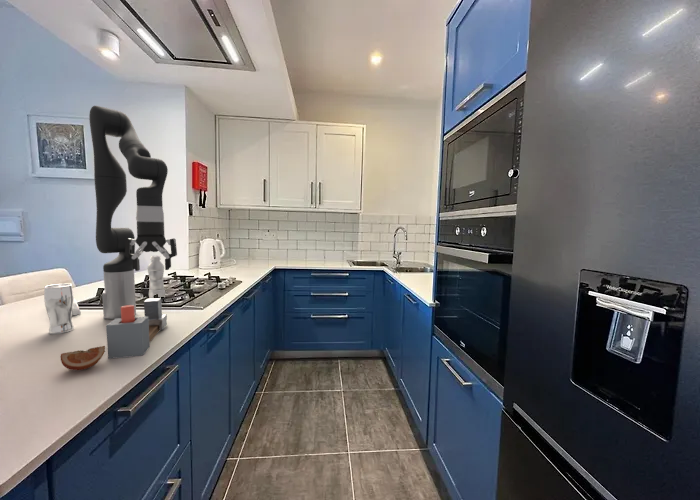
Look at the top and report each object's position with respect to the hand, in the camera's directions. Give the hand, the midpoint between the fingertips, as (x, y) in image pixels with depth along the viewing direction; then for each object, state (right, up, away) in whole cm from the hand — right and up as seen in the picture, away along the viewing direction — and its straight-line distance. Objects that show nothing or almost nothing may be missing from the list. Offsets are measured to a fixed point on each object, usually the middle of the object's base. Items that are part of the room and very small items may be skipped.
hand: (152, 270), depth 103 cm
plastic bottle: (-23, -16, +41) cm, 50 cm away
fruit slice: (0, -23, -26) cm, 35 cm away
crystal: (-48, -18, +22) cm, 55 cm away
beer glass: (-29, -20, -1) cm, 35 cm away
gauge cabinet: (+4, -22, -16) cm, 27 cm away
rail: (+1, -21, -4) cm, 21 cm away
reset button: (+4, -16, -17) cm, 23 cm away
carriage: (-1, -20, +2) cm, 20 cm away
